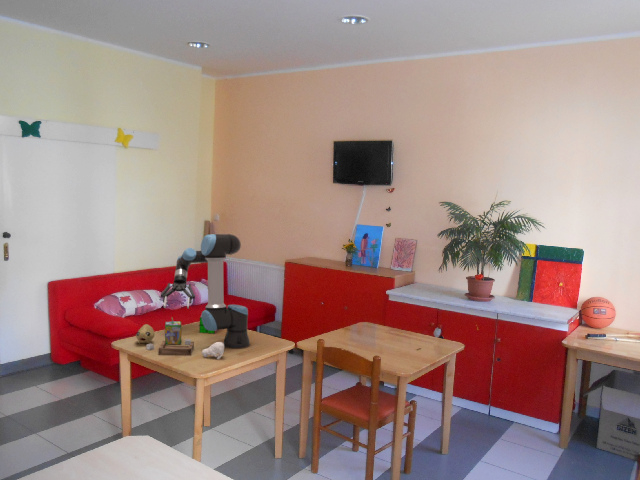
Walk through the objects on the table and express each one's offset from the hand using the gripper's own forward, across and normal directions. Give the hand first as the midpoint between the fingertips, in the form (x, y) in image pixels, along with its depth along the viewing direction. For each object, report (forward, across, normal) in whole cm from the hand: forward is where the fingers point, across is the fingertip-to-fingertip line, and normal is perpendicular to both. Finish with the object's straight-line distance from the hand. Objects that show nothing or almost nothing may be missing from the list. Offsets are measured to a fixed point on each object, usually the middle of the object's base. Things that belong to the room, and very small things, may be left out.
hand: (176, 307), depth 317 cm
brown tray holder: (+32, -5, +7) cm, 33 cm away
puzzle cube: (+3, -19, -24) cm, 31 cm away
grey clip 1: (+30, +10, +5) cm, 32 cm away
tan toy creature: (+23, +15, -3) cm, 28 cm away
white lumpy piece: (+40, -25, +14) cm, 49 cm away
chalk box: (+21, 0, -5) cm, 22 cm away
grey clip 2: (+23, -9, -3) cm, 25 cm away
